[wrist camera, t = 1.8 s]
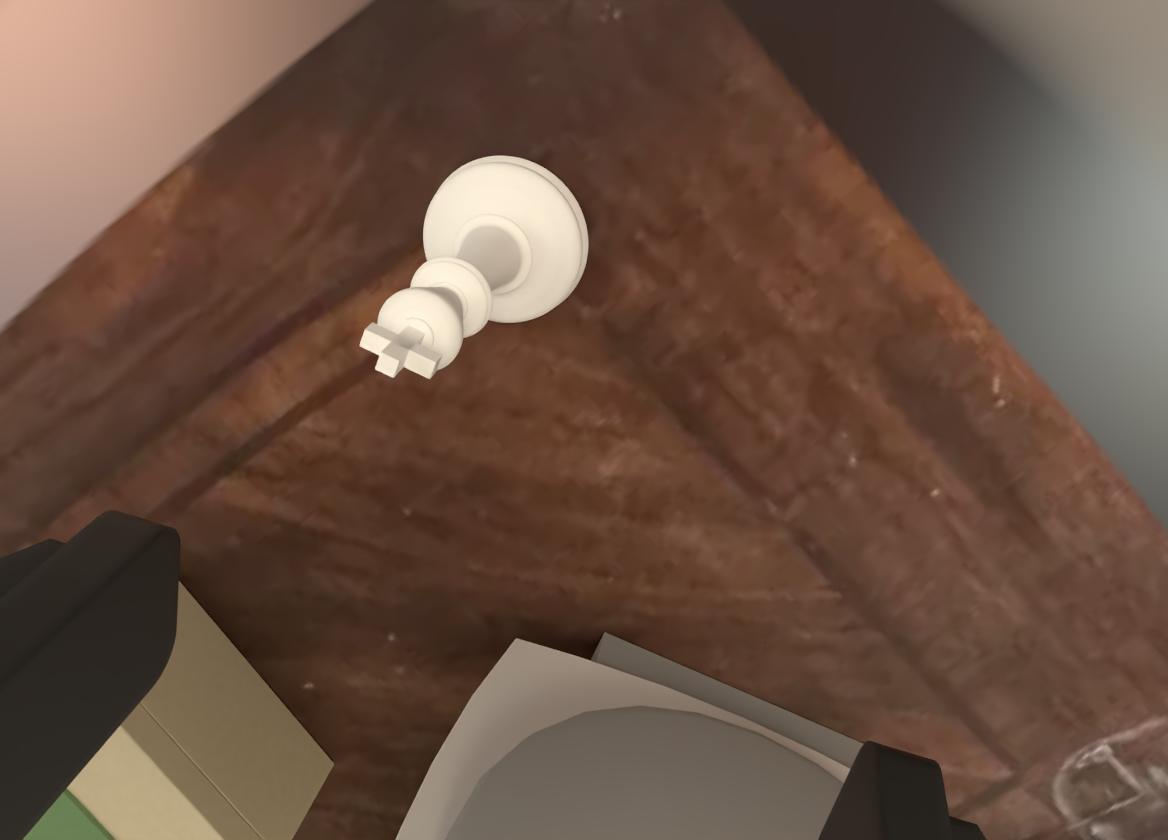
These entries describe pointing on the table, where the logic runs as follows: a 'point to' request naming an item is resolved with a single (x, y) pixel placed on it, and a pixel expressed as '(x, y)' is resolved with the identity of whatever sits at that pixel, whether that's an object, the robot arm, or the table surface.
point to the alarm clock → (625, 756)
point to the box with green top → (196, 755)
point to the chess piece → (482, 262)
